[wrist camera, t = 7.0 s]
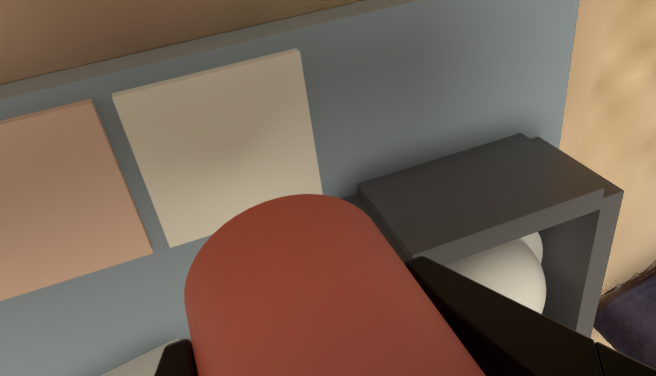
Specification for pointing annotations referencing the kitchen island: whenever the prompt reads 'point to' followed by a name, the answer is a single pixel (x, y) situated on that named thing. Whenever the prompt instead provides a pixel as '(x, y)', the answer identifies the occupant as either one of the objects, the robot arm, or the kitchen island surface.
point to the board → (238, 151)
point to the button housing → (505, 215)
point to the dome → (510, 270)
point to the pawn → (313, 299)
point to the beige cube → (141, 364)
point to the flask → (631, 317)
